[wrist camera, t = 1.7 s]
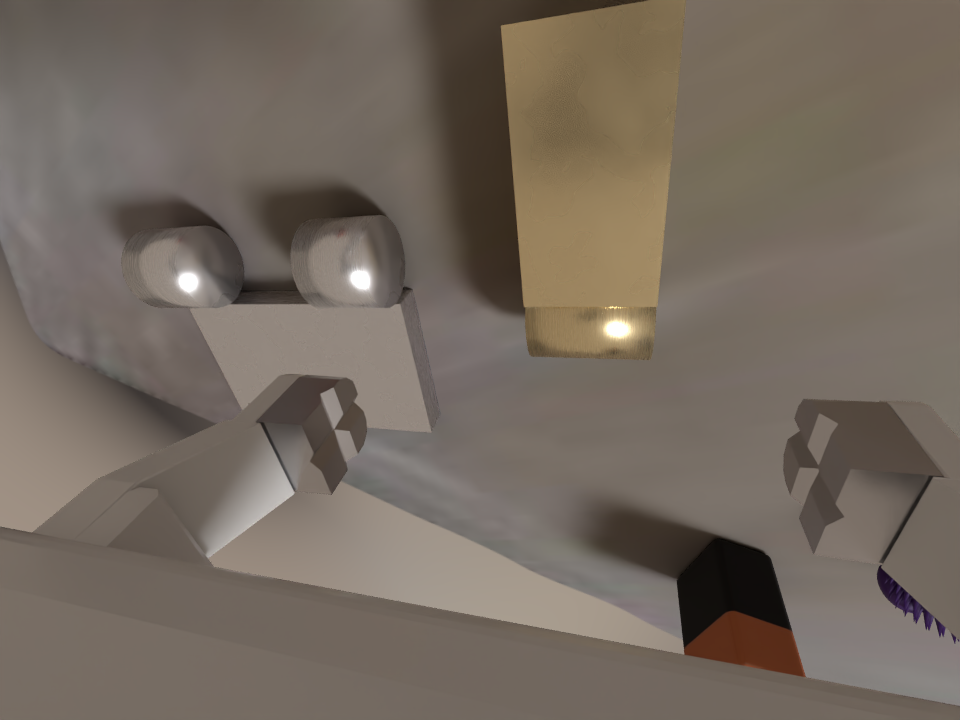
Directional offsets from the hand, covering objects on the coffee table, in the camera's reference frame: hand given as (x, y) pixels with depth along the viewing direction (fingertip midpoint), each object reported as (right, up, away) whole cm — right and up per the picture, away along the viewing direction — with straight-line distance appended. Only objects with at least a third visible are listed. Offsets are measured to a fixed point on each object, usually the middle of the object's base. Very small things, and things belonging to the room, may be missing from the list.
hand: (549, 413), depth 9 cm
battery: (+18, -15, +28) cm, 36 cm away
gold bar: (+4, +9, +15) cm, 18 cm away
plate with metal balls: (-13, +4, +24) cm, 27 cm away
